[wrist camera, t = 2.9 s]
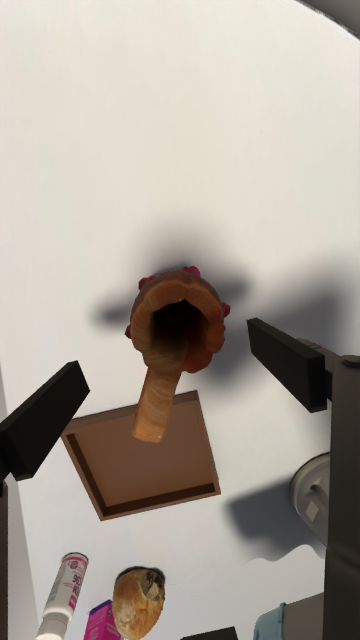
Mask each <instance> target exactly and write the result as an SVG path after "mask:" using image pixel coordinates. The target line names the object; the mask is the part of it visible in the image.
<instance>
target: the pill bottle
mask: <svg viewBox="0 0 360 640" xmlns="http://www.w3.org/2000/svg"><path fill="white" fill-rule="evenodd" d="M87 565H88V561H87V559H86V558H85V557H84V556H83V555H81V554H70V555H68V556H66V557H65V558H64V559H63V561H62V564H61V566H60V569H59V571H58V574H57V577H56V579H55V582H54V585H53V587H52V590H51V593H50V595H49V598H48V600H47V603H46V606H45V608H44V611H43V616H42V618H43V622H42V623H41V626H40V628H39V631H38V634H37V637H36V640H63V639H64V636H65V633H66V629H67V624H68V623H69V622H70V620H71V619H72V617H73V613H74V610H75V607H76V603H77V600H78V596H79V593H80V589H81V586H82V582H83V579H84V576H85V572H86V569H87Z"/></svg>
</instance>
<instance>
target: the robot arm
mask: <svg viewBox="0 0 360 640" xmlns="http://www.w3.org/2000/svg"><path fill="white" fill-rule="evenodd" d="M247 326H248V333H249V339H250V346H251V353H252V354H253V355H254V356H255V357H256V358H257V359H258V360H259V361H260V362H261V363H262V364H263V365H264V366H265V367H266V368H267V369H268V370H269V371H270V372H271V373H272V374H273V375H274V376H275V377H276V378H277V379H278V380H279V381H280V382H281V384H282V385H283V386H284V387H285V388H286V389H287V390H288V391H289V392H290V393H291V394H292V395H293V396H294V397H295V398H296V399H297V400H298V401H299V402H300V403H301V404H302V405H303V406H304V407H305V408H306V409H307V410H308V411H309V412H310V413H314V412H319V411H323V410H327V398H328V399H329V400H330V401H331V402H332V413H331V447H330V453H329V454H326V455H323V456H320V457H318V458H316V459H314V460H312V461H310V462H309V463H307V464H306V465H305V466H304V467H303V468H301V470H300V471H299V472H298V473H297V474H296V476H295V477H294V479H293V481H292V484H291V488H290V497H291V500H292V503H293V505H294V506H295V508H296V510H297V512H298V514H299V516H300V517H301V518H302V519H303V521H304V522H305V523H306V524H307V525H308V527H309V528H310V529H311V530H312V531H313V532H314V534H315V535H316V536H317V537H318V538H319V539H320V541H321V542H322V543H323V544H324V545H325V546H326V557H325V579H324V580H325V581H324V592H323V593H320V594H317V595H314V596H312V597H309V598H305V599H302V600H300V601H296V602H293V603H290V604H286V603H285V602H284V603H281V604H280V607H278V608H276V609H274V610H272V611H269V612H267V613H265V614H263V615H261V616H260V617H259V618H258V620H257V622H256V625H255V629H254V638H253V640H360V356H355V355H343V356H339V355H337V354H335V353H333V352H331V351H329V350H328V349H326V348H322V346H320V345H318V344H317V345H316V343H314V342H312V341H310V340H306V339H302V338H297V339H295V338H293V337H291V336H289V335H287V334H286V333H284V332H282V331H280V330H278V329H276V328H275V327H273V326H271V325H269V324H267V323H265V322H264V321H262V320H260V319H258V318H253V319H248V320H247ZM89 392H90V390H89V387H88V385H87V382H86V380H85V377H84V375H83V372H82V370H81V367H80V365H79V363H78V360H77V361H73V362H68V363H67V364H66V365H65V366H64V367H62V368H61V369H60V370H59V371H58V372H57V373H56V374H55V375H53V376H52V377H51V378H50V379H49V380H48V381H47V382H46V383H45V384H43V385H42V386H41V387H40V388H39V389H38V390H37V391H36V392H35V393H33V394H32V395H31V396H30V397H29V398H28V399H27V400H26V401H25V402H23V403H22V404H21V405H20V406H19V407H18V408H17V409H16V410H14V411H13V412H12V413H11V414H10V415H9V416H8V417H7V418H6V419H4V420H3V421H2V422H1V423H0V640H8V486H7V484H6V482H5V481H4V479H5V478H6V476H7V475H8V474H9V473H10V472H11V473H12V475H13V477H14V478H15V480H16V481H21V480H25V479H29V478H33V476H34V475H35V473H36V472H37V470H38V469H39V467H40V466H41V464H42V463H43V461H44V460H45V458H46V457H47V455H48V454H49V452H50V451H51V449H52V448H53V446H54V445H55V443H56V442H57V440H58V439H59V437H60V436H61V434H62V433H63V431H64V430H65V428H66V427H67V425H68V424H69V422H70V421H71V419H72V418H73V416H74V415H75V413H76V412H77V410H78V409H79V407H80V406H81V404H82V403H83V401H84V400H85V398H86V397H87V395H88V394H89ZM181 640H238V637H237V634H236V631H235V627H234V626H233V627H229V628H224V629H220V630H215V631H211V632H206V633H201V634H197V635H193V636H188V637H183V638H182V639H181Z"/></svg>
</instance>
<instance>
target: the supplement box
mask: <svg viewBox="0 0 360 640" xmlns="http://www.w3.org/2000/svg"><path fill="white" fill-rule="evenodd" d="M84 640H124V637H123V636H122V635H121V634H120V633H119V632H118V629H117V627H116V624H115V621H114V615H113V611H112V602H111V601H110V600H109V601H107V602H106V603H104V604H102V605H101V606H99V607H97V608H96V609H94V610H92V611H90V614H89V618H88V623H87V627H86V631H85V636H84Z"/></svg>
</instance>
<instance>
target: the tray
mask: <svg viewBox="0 0 360 640" xmlns="http://www.w3.org/2000/svg"><path fill="white" fill-rule="evenodd" d="M136 409H137V405H134V406H129V407H125V408H121V409H116V410H112V411H108V412H104V413H99V414H95V415H91V416H86V417H82V418H78V419H74V420H71V421H70V422H69V424H68V425H67V427H66V428H65V430H64V431H63V433H62V434H61V436H60V437H61V439H62V441H63V443H64V445H65V447H66V449H67V451H68V453H69V456H70V458H71V460H72V462H73V464H74V466H75V468H76V470H77V472H78V474H79V477H80V479H81V481H82V483H83V485H84V487H85V489H86V491H87V493H88V495H89V498H90V500H91V502H92V504H93V506H94V508H95V510H96V512H97V514H98V517H99V519H100V521H105V520H109V519H113V518H118V517H122V516H127V515H131V514H136V513H140V512H145V511H149V510H153V509H158V508H162V507H167V506H171V505H176V504H180V503H185V502H189V501H193V500H198V499H202V498H207V497H211V496H216V495H220V494H221V491H220V486H219V482H218V478H217V474H216V470H215V466H214V461H213V457H212V453H211V449H210V445H209V441H208V437H207V433H206V429H205V425H204V421H203V416H202V412H201V408H200V404H199V400H198V396H197V392H196V391H194V392H189V393H185V394H181V395H176V396H174V398H173V403H172V408H171V413H170V417H169V422H168V426H167V429H166V431H165V434H164V437H163V438H162V439H161V441H160V442H159V443H155V442H150V441H147V442H145V441H143V440H141V439H138V438H135V437H134V436H133V435H132V427H133V423H134V418H135V413H136Z"/></svg>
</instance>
